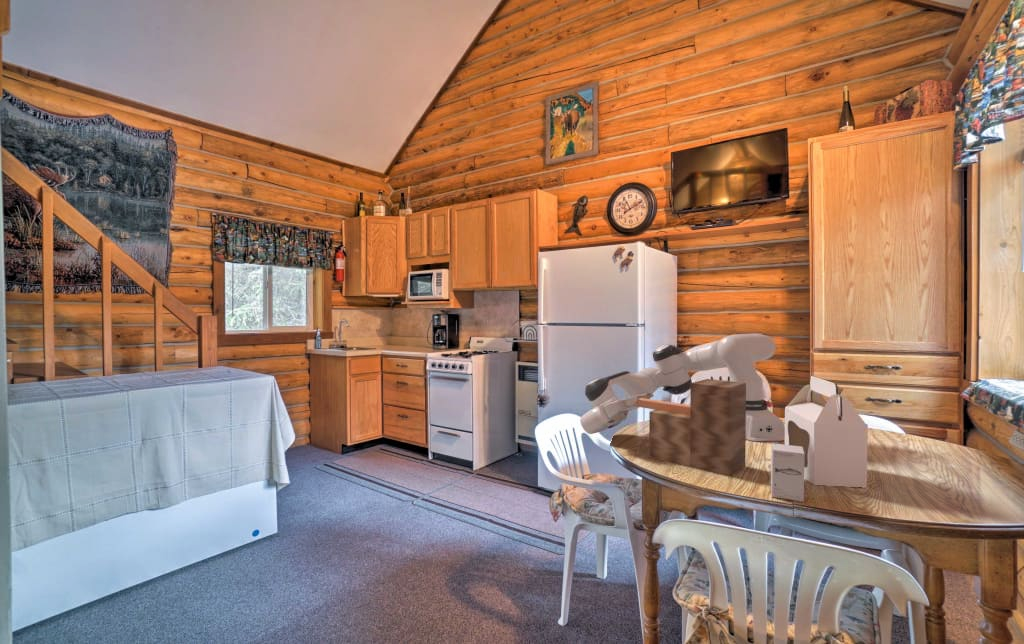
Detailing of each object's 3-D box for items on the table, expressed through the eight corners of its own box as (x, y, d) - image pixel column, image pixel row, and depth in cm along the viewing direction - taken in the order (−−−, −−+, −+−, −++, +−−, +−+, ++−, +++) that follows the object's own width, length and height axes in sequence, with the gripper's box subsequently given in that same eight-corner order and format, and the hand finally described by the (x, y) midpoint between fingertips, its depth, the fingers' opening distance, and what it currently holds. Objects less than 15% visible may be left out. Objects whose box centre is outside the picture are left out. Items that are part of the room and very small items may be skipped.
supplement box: (771, 497, 123) (771, 449, 123) (770, 488, 130) (771, 442, 129) (804, 503, 120) (805, 453, 119) (802, 492, 126) (802, 445, 126)
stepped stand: (745, 466, 147) (745, 382, 146) (729, 476, 139) (730, 387, 138) (667, 449, 166) (667, 374, 165) (649, 456, 157) (649, 378, 157)
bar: (696, 413, 153) (696, 406, 153) (691, 415, 151) (691, 407, 151) (641, 405, 168) (641, 397, 168) (635, 406, 165) (635, 399, 165)
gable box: (867, 489, 128) (869, 386, 128) (813, 486, 131) (814, 384, 130) (829, 462, 150) (830, 374, 149) (784, 460, 153) (784, 373, 152)
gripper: (634, 414, 179) (664, 400, 171) (602, 423, 165) (633, 409, 156) (627, 398, 182) (656, 384, 173) (595, 406, 167) (624, 391, 159)
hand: (644, 396), depth 164 cm, fingers open, 8 cm apart
